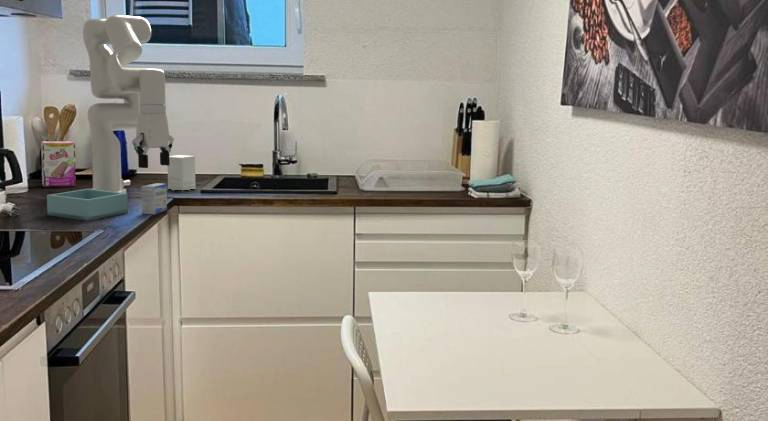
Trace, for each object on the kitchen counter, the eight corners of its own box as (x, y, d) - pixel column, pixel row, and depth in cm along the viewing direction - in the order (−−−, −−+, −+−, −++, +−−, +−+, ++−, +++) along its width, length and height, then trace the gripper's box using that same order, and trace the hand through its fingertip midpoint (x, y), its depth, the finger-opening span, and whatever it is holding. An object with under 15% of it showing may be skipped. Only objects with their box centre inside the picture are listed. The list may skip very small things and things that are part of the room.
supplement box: (196, 189, 283) (195, 155, 280) (182, 191, 276) (182, 157, 274) (181, 187, 286) (180, 154, 284) (167, 189, 279) (166, 155, 277)
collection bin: (88, 207, 238) (87, 188, 237) (128, 212, 232) (127, 193, 231) (47, 215, 224) (46, 195, 223) (88, 220, 217) (87, 200, 216)
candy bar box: (43, 187, 275) (42, 142, 272) (42, 185, 279) (40, 141, 276) (76, 186, 281) (75, 142, 278) (74, 184, 285) (72, 140, 282)
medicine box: (154, 215, 230) (154, 186, 228) (141, 214, 231) (140, 186, 229) (167, 210, 237) (166, 183, 236) (154, 209, 238) (153, 182, 237)
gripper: (162, 109, 238) (163, 163, 241) (122, 110, 222) (124, 168, 225) (181, 110, 235) (182, 165, 238) (142, 111, 219) (144, 169, 222)
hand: (154, 166), depth 231 cm, fingers open, 9 cm apart
